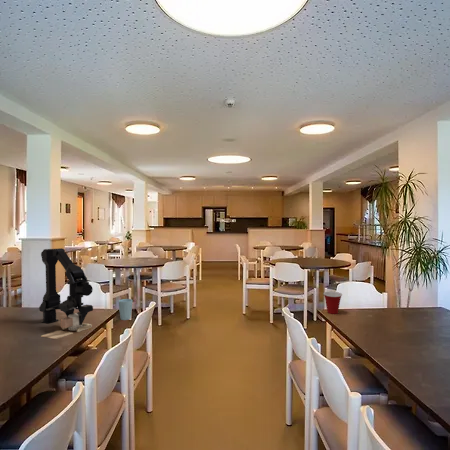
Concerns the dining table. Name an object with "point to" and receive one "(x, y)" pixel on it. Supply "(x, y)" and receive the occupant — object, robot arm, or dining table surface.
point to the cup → (125, 308)
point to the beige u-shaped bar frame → (85, 326)
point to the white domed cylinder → (71, 322)
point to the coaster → (57, 334)
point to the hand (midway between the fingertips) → (75, 324)
